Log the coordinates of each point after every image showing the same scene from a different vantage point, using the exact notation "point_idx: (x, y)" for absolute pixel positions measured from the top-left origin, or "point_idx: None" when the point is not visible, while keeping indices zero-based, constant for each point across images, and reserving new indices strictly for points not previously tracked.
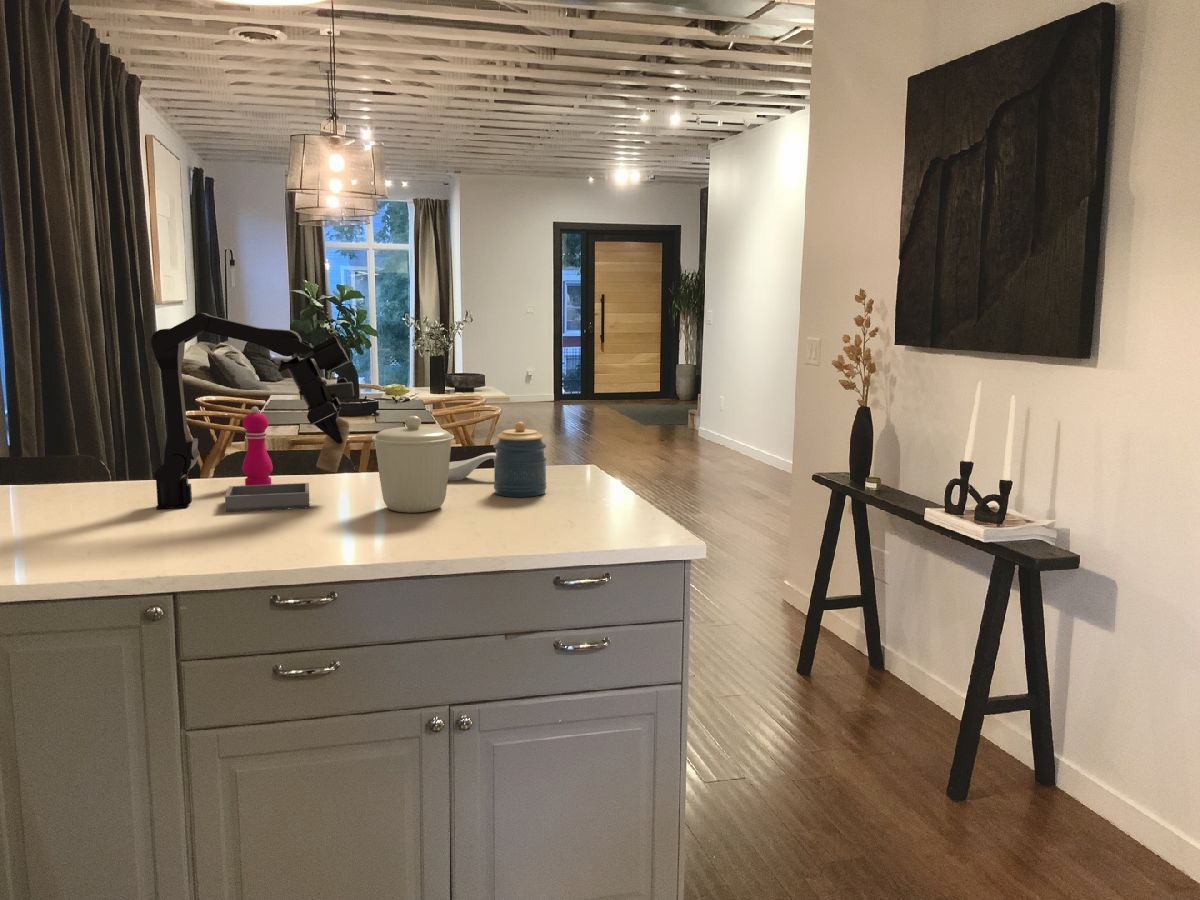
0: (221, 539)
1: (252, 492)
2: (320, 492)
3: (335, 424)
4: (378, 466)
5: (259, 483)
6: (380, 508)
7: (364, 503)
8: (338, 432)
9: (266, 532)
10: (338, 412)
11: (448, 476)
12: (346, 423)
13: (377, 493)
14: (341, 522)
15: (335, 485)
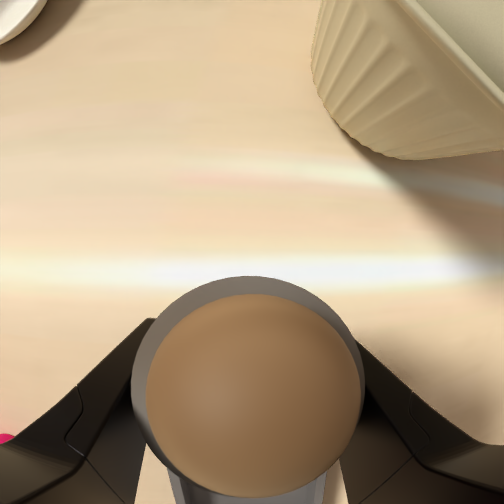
0: (492, 440)
1: (188, 499)
2: (91, 341)
3: (446, 430)
4: (471, 150)
5: None
6: (368, 171)
7: (290, 211)
8: (391, 379)
9: (489, 396)
10: (43, 494)
11: (44, 5)
12: (333, 339)
13: (136, 166)
14: (478, 274)
15: (7, 293)
